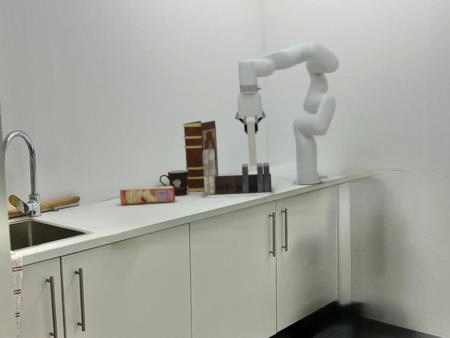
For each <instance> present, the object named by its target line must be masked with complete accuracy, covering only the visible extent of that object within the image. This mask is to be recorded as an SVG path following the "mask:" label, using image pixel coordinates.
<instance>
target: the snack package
mask: <svg viewBox="0 0 450 338" xmlns="http://www.w3.org/2000/svg"><path fill="white" fill-rule="evenodd" d="M119 197H120V205H122V206H126V205H137V204H138V205H139V204H155V203H174V202H175V199H176V196H175V191H174V187H173V186H170V185H167V186H164V185H163V186H137V187H136V186H135V187H121V188H120V190H119Z"/></svg>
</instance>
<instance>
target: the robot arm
mask: <svg viewBox="0 0 450 338" xmlns="http://www.w3.org/2000/svg"><path fill="white" fill-rule="evenodd" d="M237 63H238V65H237V66H238V67H237V68H238V81H239V93H238V95H237V111H236V113H235V116H234V119H235V120H237V121H239V122H240V123H241V124H242V125H243V132H244V133H245V134H246V135H248V130H247V118H253V117H254V123H255V135H256V134H257V132H259V124H260V122H261V121H262V120H264V119H265V118H266V117H267V115H266V113H265V112H264V110H263V102H262V95H261V93H260V92H259V91H260V90H262V86H261V85H258V78H265V77H267V78H268V77H270V76H272V75H273V74H274V73H275V71H282V70H286V69H290V68H292V67H295V66H297V65H301V64H303V63H305V67H306V70H307V73H308V75H309V79H310V81H309V82H310V84H309V87H308V89H307V92H306V95H305V97H304V101H303V105H302V108H303V111H305V112H306V113H301V114H299V115H297V116H295V118H294V119H293V121H292V129H293V135H294V139H295V140H294V141H295V158H296V159H295V160H296V162H295V163H296V179H294V180H293V182H294V183H297V184H298V185H303V186H304V185H316V184H320V183H322V179H328V178H329V177H328V176H329V175H328V173H319V172H318V151H317V150H318V146H317V141H316V138H315V136H324V135H325V134H326V133H327V132H328V130H329V128H330V125H331V122H332V120H333V117H334V114H335V111H336V107H337V101H336V98H335V96H334V95H333V94H332V93H330V92H328V90H329V81H328V79H327V76H326V75H325V74H331V73H334V72H336V71H337V70H338V68H339V66H340V61H339V58H338V57H337V55H336V54H335V53H334V52H332V51H331V50H330V49H328V48H327V47H326V46H325V45H323V44H321V43H319V42H318V41H305V42H300V43H296V44H293V45H290V46H288V47H285V48H282V49H279V50H276V51H273V52H270V53H266V54H263V55H259V56H257V57H254V58H250V59H240V60H239V61H238V62H237Z"/></svg>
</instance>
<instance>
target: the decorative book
mask: <svg viewBox="0 0 450 338" xmlns="http://www.w3.org/2000/svg"><path fill="white" fill-rule="evenodd" d="M182 127H183V133H184V136H183V139H184V149H185V165H186V166H185V170H187V171H188V183H187V192H190V193H195V192H196V193H198V192H205V187H204V169H203V151H204V150H205V149H214V153H215V171H216V176H219V163H218V162H219V160H218V144H217V142H218V141H217V126H216V121H215V120H210V121H205V122H202V121H201V120H197V121H192V122H186V123H185V122H184V123H182Z"/></svg>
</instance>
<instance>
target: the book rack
mask: <svg viewBox="0 0 450 338" xmlns="http://www.w3.org/2000/svg"><path fill="white" fill-rule="evenodd" d="M203 169H204V187H205V190H204V197H205V196H224V195H225V196H226V195H244V194H265V193H266V194H268V193H269V194H270V193H273V189H272V173H270V163H269V162H257V166H256V173H253V174H249V163H242V164H241V174H231V175H230V174H229V175H218V176H216V171H215V153H214V149H205V150H204V151H203Z"/></svg>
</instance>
